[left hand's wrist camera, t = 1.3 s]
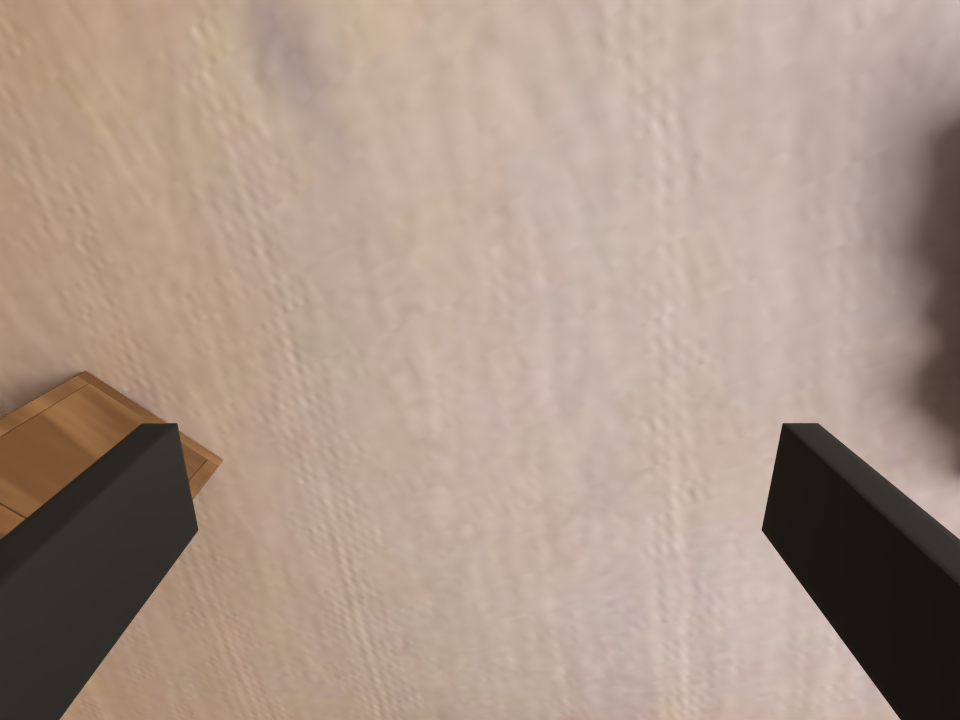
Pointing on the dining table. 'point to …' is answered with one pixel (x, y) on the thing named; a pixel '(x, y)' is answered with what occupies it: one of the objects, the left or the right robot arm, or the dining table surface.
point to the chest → (74, 441)
